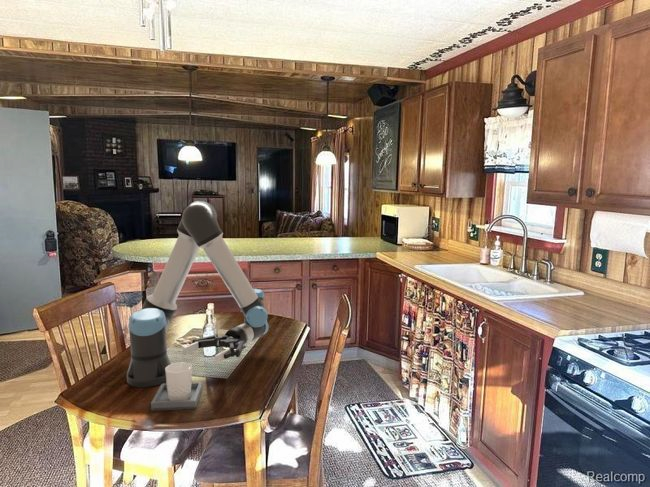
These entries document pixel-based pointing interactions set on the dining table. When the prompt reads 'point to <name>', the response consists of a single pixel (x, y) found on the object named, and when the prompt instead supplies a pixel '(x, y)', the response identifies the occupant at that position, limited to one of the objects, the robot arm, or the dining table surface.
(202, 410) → the dining table surface
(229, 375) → the dining table surface
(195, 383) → the charcoal tray
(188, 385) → the white cup
